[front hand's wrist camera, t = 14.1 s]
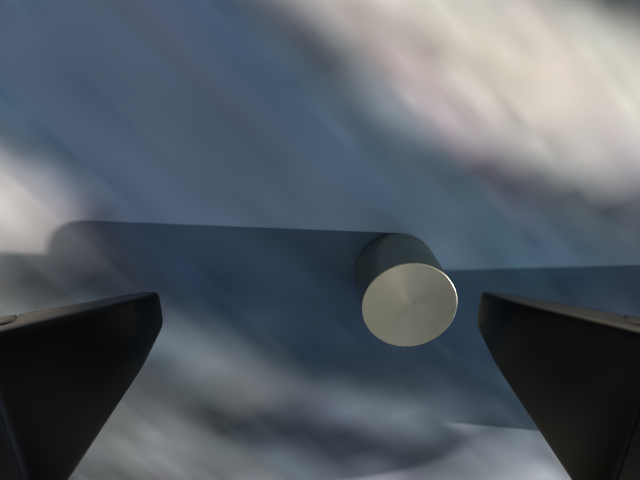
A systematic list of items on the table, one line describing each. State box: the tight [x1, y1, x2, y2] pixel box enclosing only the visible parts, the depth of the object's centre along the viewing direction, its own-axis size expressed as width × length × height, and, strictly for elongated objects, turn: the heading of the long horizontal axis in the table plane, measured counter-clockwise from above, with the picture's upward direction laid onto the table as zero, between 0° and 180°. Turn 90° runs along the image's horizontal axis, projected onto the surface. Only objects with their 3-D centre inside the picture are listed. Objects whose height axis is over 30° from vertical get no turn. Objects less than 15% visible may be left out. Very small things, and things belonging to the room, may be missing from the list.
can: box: [355, 234, 457, 347], centre depth 22 cm, size 5×5×4 cm
